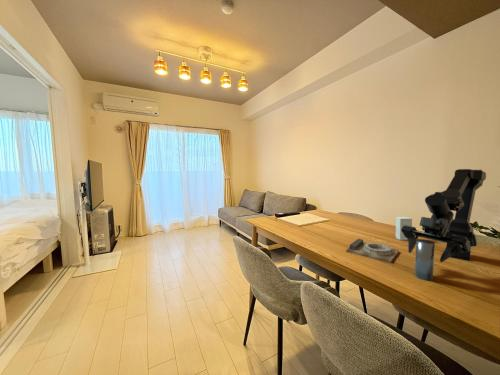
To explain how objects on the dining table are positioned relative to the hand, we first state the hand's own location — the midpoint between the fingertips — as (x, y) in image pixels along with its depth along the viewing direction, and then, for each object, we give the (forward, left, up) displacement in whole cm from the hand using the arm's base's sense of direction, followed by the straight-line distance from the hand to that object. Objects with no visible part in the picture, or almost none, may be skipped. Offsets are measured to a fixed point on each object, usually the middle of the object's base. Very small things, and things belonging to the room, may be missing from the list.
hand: (424, 256), depth 74 cm
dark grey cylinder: (0, 0, -8) cm, 8 cm away
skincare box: (+13, -44, -8) cm, 47 cm away
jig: (+20, -13, -8) cm, 25 cm away
